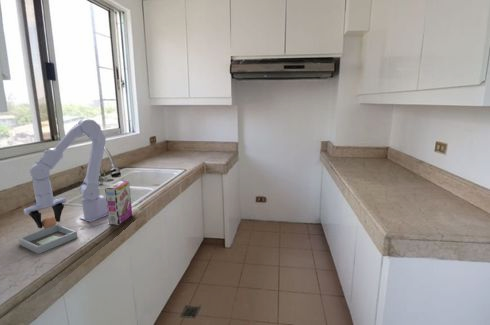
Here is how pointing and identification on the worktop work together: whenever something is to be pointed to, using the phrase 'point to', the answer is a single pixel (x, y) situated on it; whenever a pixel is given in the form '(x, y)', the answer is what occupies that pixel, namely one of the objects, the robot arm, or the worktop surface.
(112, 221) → the candy bar box
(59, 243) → the grey shallow square tray
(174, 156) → the worktop surface
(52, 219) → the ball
